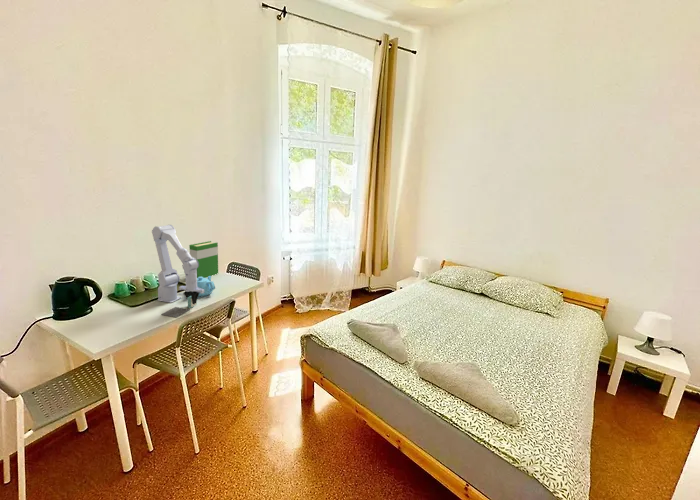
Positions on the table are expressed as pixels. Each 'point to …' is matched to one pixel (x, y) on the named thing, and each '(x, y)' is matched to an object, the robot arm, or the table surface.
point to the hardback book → (205, 258)
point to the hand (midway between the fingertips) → (192, 303)
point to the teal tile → (190, 302)
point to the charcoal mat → (175, 312)
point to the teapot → (205, 285)
